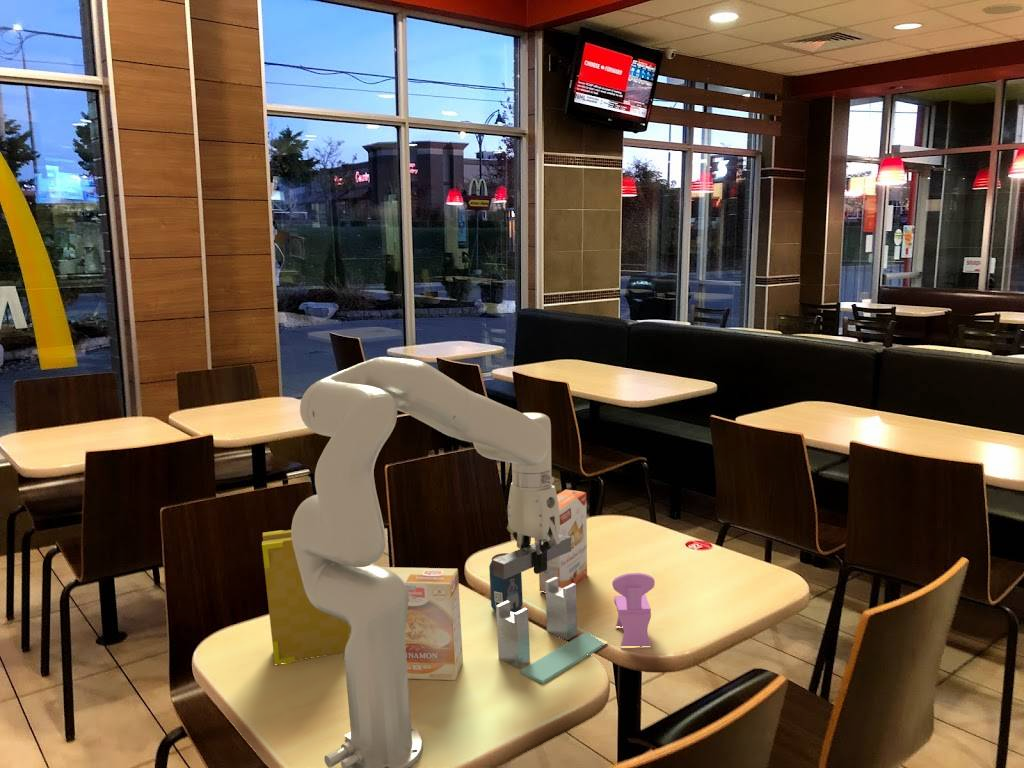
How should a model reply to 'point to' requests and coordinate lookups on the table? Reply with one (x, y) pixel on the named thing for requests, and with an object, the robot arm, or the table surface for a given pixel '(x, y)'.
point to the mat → (562, 658)
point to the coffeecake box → (432, 623)
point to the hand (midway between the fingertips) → (533, 568)
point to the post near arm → (513, 635)
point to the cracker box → (575, 526)
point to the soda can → (505, 589)
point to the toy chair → (633, 607)
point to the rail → (527, 558)
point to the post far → (561, 609)
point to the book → (296, 607)
